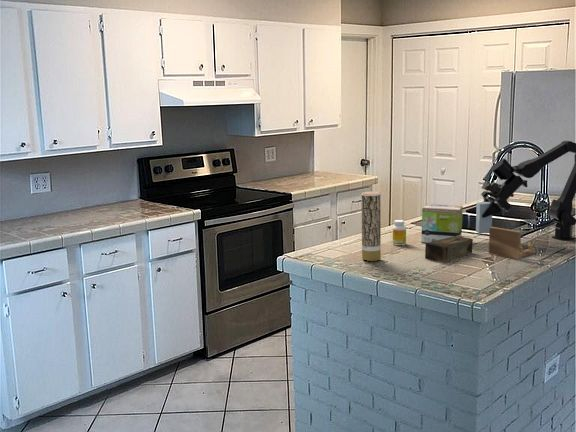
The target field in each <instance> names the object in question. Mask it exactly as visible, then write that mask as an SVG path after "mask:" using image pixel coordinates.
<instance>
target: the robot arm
mask: <svg viewBox="0 0 576 432" xmlns="http://www.w3.org/2000/svg"><path fill="white" fill-rule="evenodd" d="M569 152H570V153H574V164H573V166H572V169H571V171H570V172H569V173H570V174H569V176H568V179H567V181H566V183H565V185H564V188H563V190H562V191H561V192H562V193H560V194H561V195H560V197H559V198H557V199H552V200H551V204H550V206H549V207H548V209H549V215H550V217H551V218H552V219H553V222H555V227H554V235H552V236H551V238H552V239H558V240H561V241H569V240H573V239H576V236H573V230H574V229H573V226H575V225H576V218H575V216H573V215H572V212H573V209H574V208H573V201H574V198H575V196H576V142H573V141H571V140H562V141H561V142H560V143H558V144H557V145H556V146H554V147H552V148H551V149H549V150H547V151H545V152H543V153H542V154H540V155H538V156H536V157H534V158H532V159H527V160H525V161H522V162H520V163H518V164H517V165H514V166H513V165H511V164H510V162H508V160H507V159H505V158H502V159H501V160H498V161H497V162H496V163H494V164H493V165H492V166H491V168H490V171H491V172H492V173H493V174H494V175H495V176H496V177H497V178H498V180H500V181H504V182H502V184H500V183H497V182H495V181H493V182H488V181H484V182H483V184H482V186H481V189H483V191H482V193H481V194H480V195H481V196H482V198H483V202H490V206H489V207H488V208H487V210H486V211H485V212H484V213H483V215H482V217H483V218H485V217H488V216H490V215H492V216H493V215H496V214H497V213H501V212H503V211H504V212H506V213H508V212H509V211H510V210H512V205H511V204H510V202H508V200H509V198H513V197H514V196H515V195H514V194H515V192H517V190H519V189H520V188H521V186H522V187H524V188H528V180H527V179H531V178H533V177H535V176H536V175H537V174H539V172H540V171H541V170H542V169H543V168H544V167H545V166H547V165H548V164H550V163H552V162H553V161H556V160H557V159H559V158H561V157H562V156H564V155H567V153H569ZM516 174H517V175H516ZM522 177H523V178H526V179H523V178H522ZM503 209H504V210H503Z"/></svg>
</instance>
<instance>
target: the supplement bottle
mask: <svg viewBox="0 0 576 432" xmlns="http://www.w3.org/2000/svg"><path fill="white" fill-rule="evenodd" d="M393 221H394V222H393V224H394V225H393V226H392V245H393V244H395V245H394V246H396V245H402V246H405V245H404V244H407V227H406V226H405V220H402V219H395V220H393Z"/></svg>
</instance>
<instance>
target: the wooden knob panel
mask: <svg viewBox="0 0 576 432" xmlns="http://www.w3.org/2000/svg"><path fill="white" fill-rule="evenodd" d="M488 234H489V239H488V254H491V255H493V256H494V255H495V256H499V257H505V258H508V259H513V260H520V259H521V258H524V257H527V256H530V255H532V254H536V253H537V249H536V248H533V244H532V243H528V248H527V249H526V248H525V249H524V246H522V245H521V243H522V241H521V240H522V232H521V231H520V230H515V229H508V228H501V227H496V226H492V227H490V231H489V233H488ZM526 255H527V256H526ZM523 256H524V257H523ZM520 257H521V258H520Z"/></svg>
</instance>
